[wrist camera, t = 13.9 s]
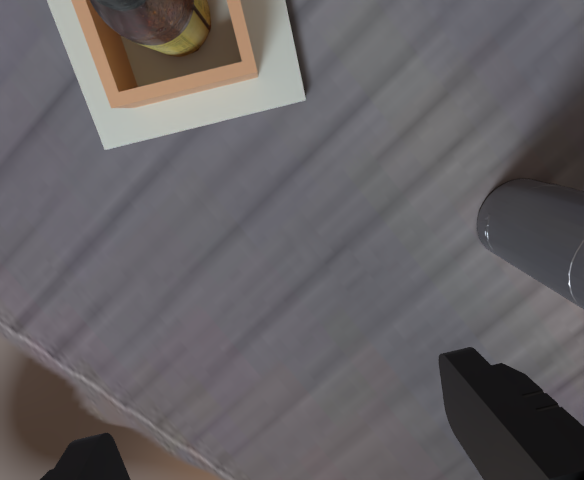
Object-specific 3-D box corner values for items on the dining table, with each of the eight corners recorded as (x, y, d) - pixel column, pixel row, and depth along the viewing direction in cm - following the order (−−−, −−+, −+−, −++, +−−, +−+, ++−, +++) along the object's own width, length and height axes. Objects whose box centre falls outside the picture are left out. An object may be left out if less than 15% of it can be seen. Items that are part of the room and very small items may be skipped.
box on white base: (258, -119, 33) (258, -180, 26) (304, 100, 39) (314, 98, 32) (29, -63, 33) (-33, -108, 26) (110, 148, 39) (77, 157, 32)
